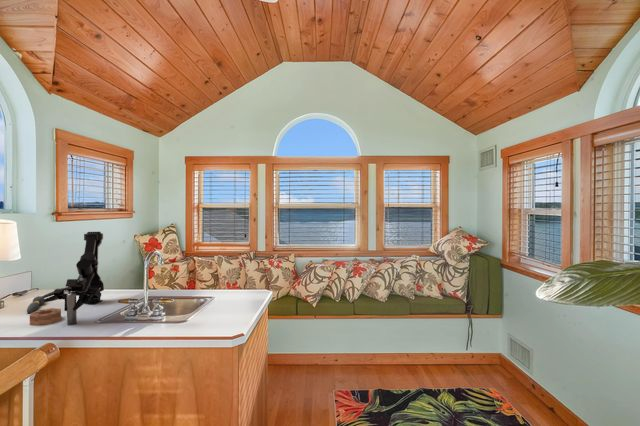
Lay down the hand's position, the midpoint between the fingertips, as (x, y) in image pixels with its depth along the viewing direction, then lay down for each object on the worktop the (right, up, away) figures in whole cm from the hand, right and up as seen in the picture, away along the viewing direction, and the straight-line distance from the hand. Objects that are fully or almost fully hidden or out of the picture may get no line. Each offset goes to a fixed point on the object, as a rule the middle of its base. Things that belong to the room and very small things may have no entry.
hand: (69, 310), depth 150 cm
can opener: (-36, -5, +40) cm, 54 cm away
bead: (-15, -6, +5) cm, 17 cm away
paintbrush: (-34, -6, +22) cm, 41 cm away
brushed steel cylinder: (0, -7, +2) cm, 7 cm away
